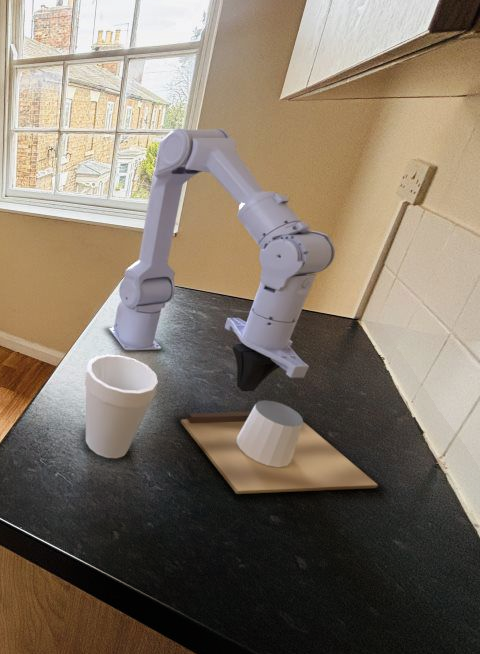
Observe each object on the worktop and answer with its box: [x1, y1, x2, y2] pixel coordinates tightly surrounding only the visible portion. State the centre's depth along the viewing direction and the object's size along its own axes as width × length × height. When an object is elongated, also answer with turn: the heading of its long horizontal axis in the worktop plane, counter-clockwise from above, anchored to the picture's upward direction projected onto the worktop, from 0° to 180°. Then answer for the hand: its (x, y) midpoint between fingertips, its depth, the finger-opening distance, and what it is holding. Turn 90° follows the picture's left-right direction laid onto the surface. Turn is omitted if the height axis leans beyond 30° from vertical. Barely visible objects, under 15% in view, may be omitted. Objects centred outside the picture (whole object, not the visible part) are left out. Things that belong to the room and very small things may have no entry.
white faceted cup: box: [237, 399, 304, 467], centre depth 59 cm, size 7×7×7 cm
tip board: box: [180, 411, 379, 495], centre depth 60 cm, size 14×20×2 cm
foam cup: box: [84, 353, 159, 459], centre depth 59 cm, size 10×9×13 cm
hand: (245, 388), depth 65 cm, fingers closed
